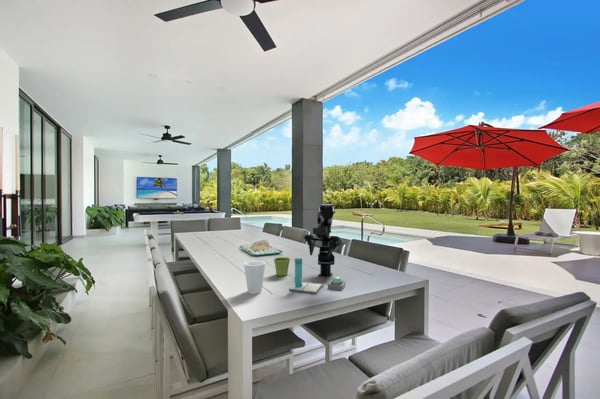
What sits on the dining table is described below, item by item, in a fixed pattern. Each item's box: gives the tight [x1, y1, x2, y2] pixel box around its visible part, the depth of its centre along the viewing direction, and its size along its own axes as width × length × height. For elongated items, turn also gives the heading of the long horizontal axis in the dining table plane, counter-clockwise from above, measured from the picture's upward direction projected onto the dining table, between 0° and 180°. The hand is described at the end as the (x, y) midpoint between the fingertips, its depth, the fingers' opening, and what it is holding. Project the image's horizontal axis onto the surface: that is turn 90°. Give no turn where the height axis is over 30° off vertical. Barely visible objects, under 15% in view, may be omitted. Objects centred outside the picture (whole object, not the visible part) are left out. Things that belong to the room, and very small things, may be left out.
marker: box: [294, 257, 303, 287], centre depth 134 cm, size 4×4×13 cm
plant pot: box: [273, 256, 291, 277], centre depth 157 cm, size 9×9×9 cm
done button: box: [331, 276, 342, 285], centre depth 137 cm, size 4×4×3 cm
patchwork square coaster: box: [288, 281, 324, 295], centre depth 134 cm, size 13×13×1 cm
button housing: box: [327, 279, 346, 291], centre depth 137 cm, size 7×7×2 cm
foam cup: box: [243, 260, 266, 295], centre depth 130 cm, size 10×9×13 cm
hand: (319, 256), depth 139 cm, fingers open, 9 cm apart
